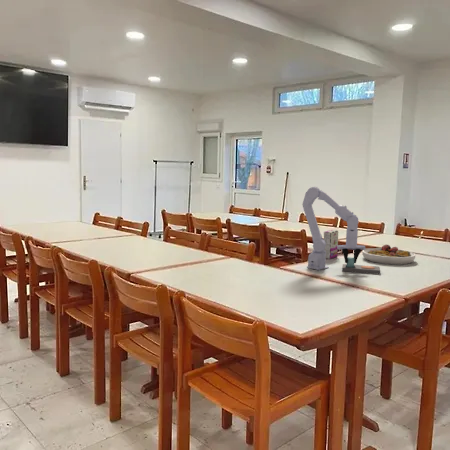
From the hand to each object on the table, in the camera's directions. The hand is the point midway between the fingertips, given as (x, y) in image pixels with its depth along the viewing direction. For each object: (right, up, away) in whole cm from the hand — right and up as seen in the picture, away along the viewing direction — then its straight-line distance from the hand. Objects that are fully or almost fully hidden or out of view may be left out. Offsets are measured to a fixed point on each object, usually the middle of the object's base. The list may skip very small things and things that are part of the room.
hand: (350, 262), depth 241 cm
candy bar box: (-3, 0, +35) cm, 35 cm away
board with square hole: (+5, -4, -1) cm, 7 cm away
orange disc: (+9, -2, -2) cm, 9 cm away
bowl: (+31, -1, +30) cm, 43 cm away
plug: (0, -3, 0) cm, 3 cm away
